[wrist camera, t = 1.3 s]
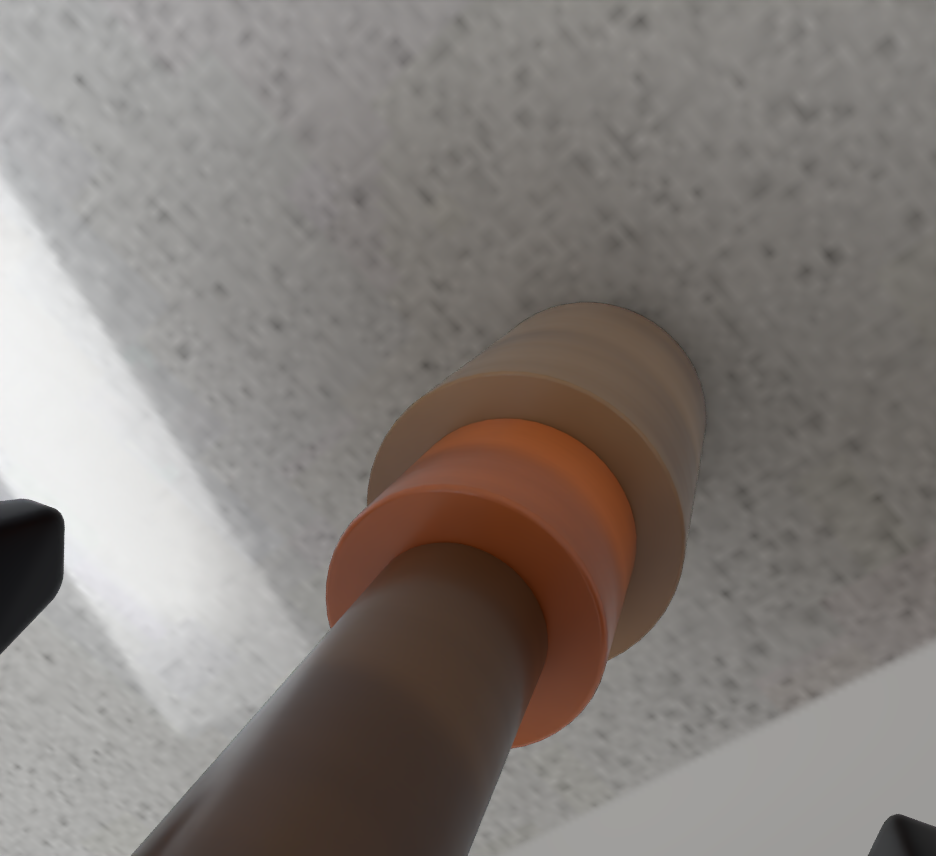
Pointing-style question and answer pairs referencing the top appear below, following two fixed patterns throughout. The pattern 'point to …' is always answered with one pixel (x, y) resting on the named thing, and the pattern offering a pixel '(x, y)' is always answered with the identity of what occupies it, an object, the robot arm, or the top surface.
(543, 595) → the brown peg with discs
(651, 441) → the stand
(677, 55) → the top surface
